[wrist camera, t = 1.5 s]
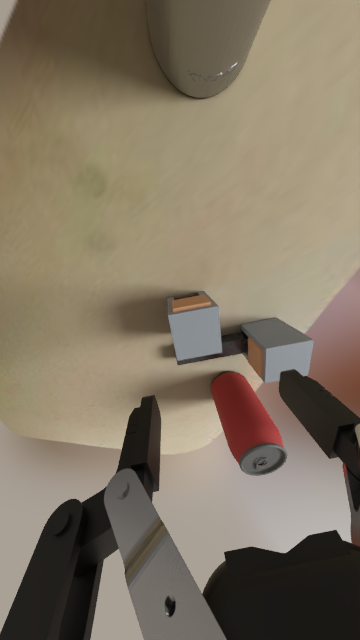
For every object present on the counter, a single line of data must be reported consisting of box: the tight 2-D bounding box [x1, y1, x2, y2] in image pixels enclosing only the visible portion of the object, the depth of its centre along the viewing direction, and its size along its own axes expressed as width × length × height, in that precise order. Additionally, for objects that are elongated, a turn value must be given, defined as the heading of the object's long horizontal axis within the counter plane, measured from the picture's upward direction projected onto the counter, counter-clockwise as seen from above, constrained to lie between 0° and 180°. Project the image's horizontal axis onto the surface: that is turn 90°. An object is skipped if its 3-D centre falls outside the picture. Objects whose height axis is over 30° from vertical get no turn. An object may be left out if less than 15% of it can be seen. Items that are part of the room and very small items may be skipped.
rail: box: [175, 332, 248, 365], centre depth 26 cm, size 2×16×2 cm, turn 100°
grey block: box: [167, 291, 222, 361], centre depth 21 cm, size 5×6×7 cm
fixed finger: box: [241, 318, 314, 383], centre depth 23 cm, size 5×6×7 cm
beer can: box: [211, 372, 287, 476], centre depth 25 cm, size 7×7×12 cm
